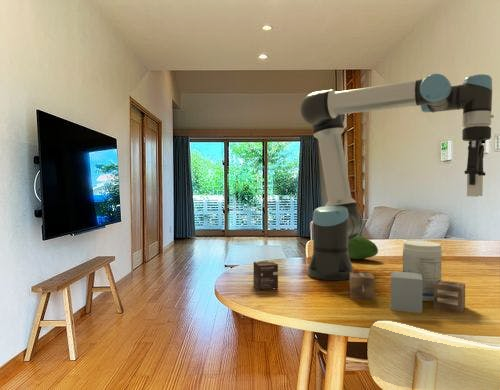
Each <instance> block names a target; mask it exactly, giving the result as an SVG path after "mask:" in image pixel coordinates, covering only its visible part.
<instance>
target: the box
mask: <svg viewBox="0 0 500 390" xmlns="http://www.w3.org/2000/svg"><path fill="white" fill-rule="evenodd" d="M252 279H253V280H252V281H253V284H254V285H255V286H256V287H257V288H258V289H259V291H261V290H260V289H271V290H274V289H273V288H279V264H278V263H276V262H274V261H272V260H271V261H265V260H264V261H253V278H252ZM253 284H252V285H253ZM254 285H253V286H254ZM255 286H254V287H255ZM256 287H255V288H256ZM257 288H256V289H257ZM258 289H257V290H258Z"/></svg>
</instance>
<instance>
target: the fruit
mask: <svg viewBox="0 0 500 390" xmlns="http://www.w3.org/2000/svg"><path fill="white" fill-rule="evenodd" d="M378 253H379V249H378V246H377V245H376V243H374V242H373V241H372V240H370V239H368V238H366V237H365V236H362V235H357V236H356V237H354V238H352V239H350V240H348V255H349V258H350V260H351V259H352V260H357V261H358V260H364V259H369V258H372V257H373V258H374V257H375V256H376V255H378Z"/></svg>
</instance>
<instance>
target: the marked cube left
mask: <svg viewBox="0 0 500 390" xmlns="http://www.w3.org/2000/svg"><path fill="white" fill-rule="evenodd" d="M353 272H354V271H353ZM353 272H350V279H349V296H350V300H354V301H371V302H375V300H376V299H375V287H376V286H375V285H376V284H375V283H376V282H375V279H376V278H375V276H374V274H373V273H371V272H354V273H353Z"/></svg>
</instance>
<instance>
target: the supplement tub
mask: <svg viewBox="0 0 500 390" xmlns="http://www.w3.org/2000/svg"><path fill="white" fill-rule="evenodd" d="M442 253H443V251H442V244H441V243H439V242H435V241H434V242H433V241H427V240H425V241H423V240H407V241H406V240H405V241H404V242H403V247H402V272H409V273H421V276H422V302H434V284H435V283H436V282H437V281H438V280H442V260H443V259H442V256H443V255H442Z"/></svg>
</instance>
